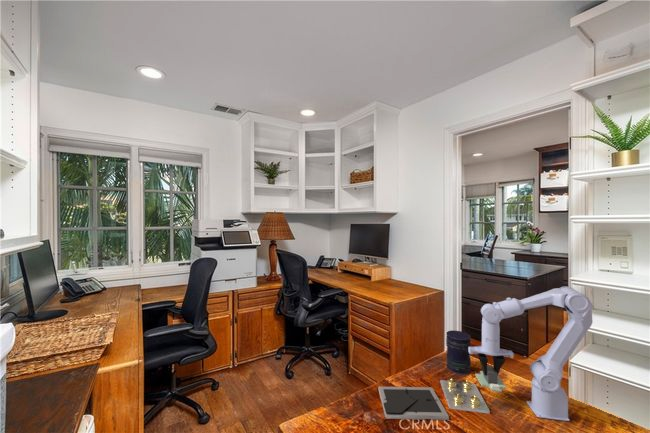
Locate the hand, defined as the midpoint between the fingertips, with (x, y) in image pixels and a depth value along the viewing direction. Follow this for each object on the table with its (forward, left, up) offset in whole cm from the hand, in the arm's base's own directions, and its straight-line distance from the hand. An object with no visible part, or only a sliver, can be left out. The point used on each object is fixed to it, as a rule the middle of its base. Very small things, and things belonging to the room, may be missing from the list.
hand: (490, 374), depth 104 cm
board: (0, 0, -3) cm, 3 cm away
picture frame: (+29, +8, -10) cm, 32 cm away
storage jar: (+6, -21, -10) cm, 24 cm away
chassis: (+9, 0, -9) cm, 13 cm away
